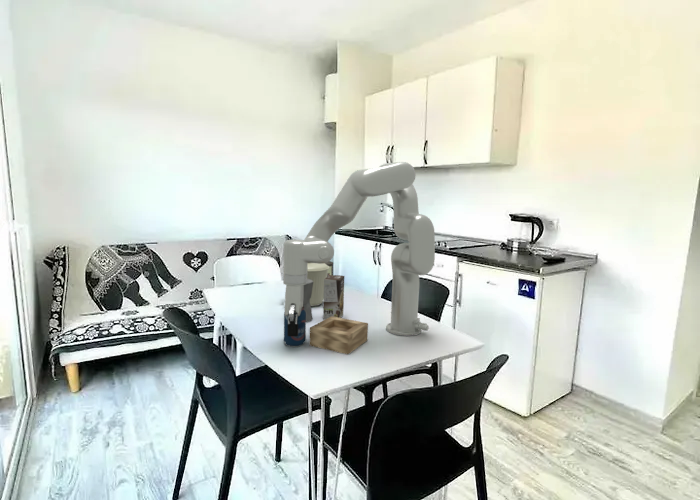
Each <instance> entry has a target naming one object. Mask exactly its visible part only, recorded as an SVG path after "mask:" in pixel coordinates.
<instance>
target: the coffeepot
mask: <svg viewBox="0 0 700 500" xmlns="http://www.w3.org/2000/svg"><path fill="white" fill-rule="evenodd" d="M312 288H313V281H312V280H310V279H307V284H306V285H304V296H303V307H304V310H305V312H306V323H310V322H312V320H313V319H314V318H313V313H312V306H311V305H310V298H311V294H312Z"/></svg>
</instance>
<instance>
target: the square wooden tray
mask: <svg viewBox="0 0 700 500" xmlns="http://www.w3.org/2000/svg"><path fill="white" fill-rule="evenodd" d="M368 331H369V323H368V322H365V321H358V320H352V319H349V318H343V317H341V318H338V317H333V316H331V317H329V318H327V319H325V320H323V319H322V321H320V322H318V323H316V324H314V325H312V326H310V327H309V346H310V347H313V346H314V348H319V349H323V350H326V351H332V352H335V353H340V354H343V355H349V354H351V353H352V352H353V351H355V350H356V349H358V348H359V347H361V346H363V344H365V343H366V342H368V340H369V339H368V334H369V332H368Z"/></svg>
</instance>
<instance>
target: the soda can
mask: <svg viewBox="0 0 700 500" xmlns="http://www.w3.org/2000/svg"><path fill="white" fill-rule="evenodd" d="M295 308H296V305H295ZM284 313H285V311H284ZM284 313H283V341H284V343H285V345H286V346H287V347H293V348H297V347H301V346H303V345H304V343H305V342H306V340H307V339H306V338H307V337H306V333H307V329H306V328H307V327H306V326H307V322H306V312H305V310H304V307H302V309H301V314H300V316H298V320H297V324H298V336H297V337H296V336H288V317H289V314H288V315H287V316H285V315H284ZM294 314H297V313H294ZM295 319H296V317H295Z"/></svg>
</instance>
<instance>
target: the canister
mask: <svg viewBox="0 0 700 500" xmlns="http://www.w3.org/2000/svg"><path fill="white" fill-rule="evenodd" d="M328 269H329V266H328V265H326V264H325V263H323V264H318V263H308V265H307V279H310V280H312V281H313V288H312V294H311V298H310V305H311V307H315V306H316V307H317V306H320V305H322V303H324V279H325V278H326V277H327V273H328Z"/></svg>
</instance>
